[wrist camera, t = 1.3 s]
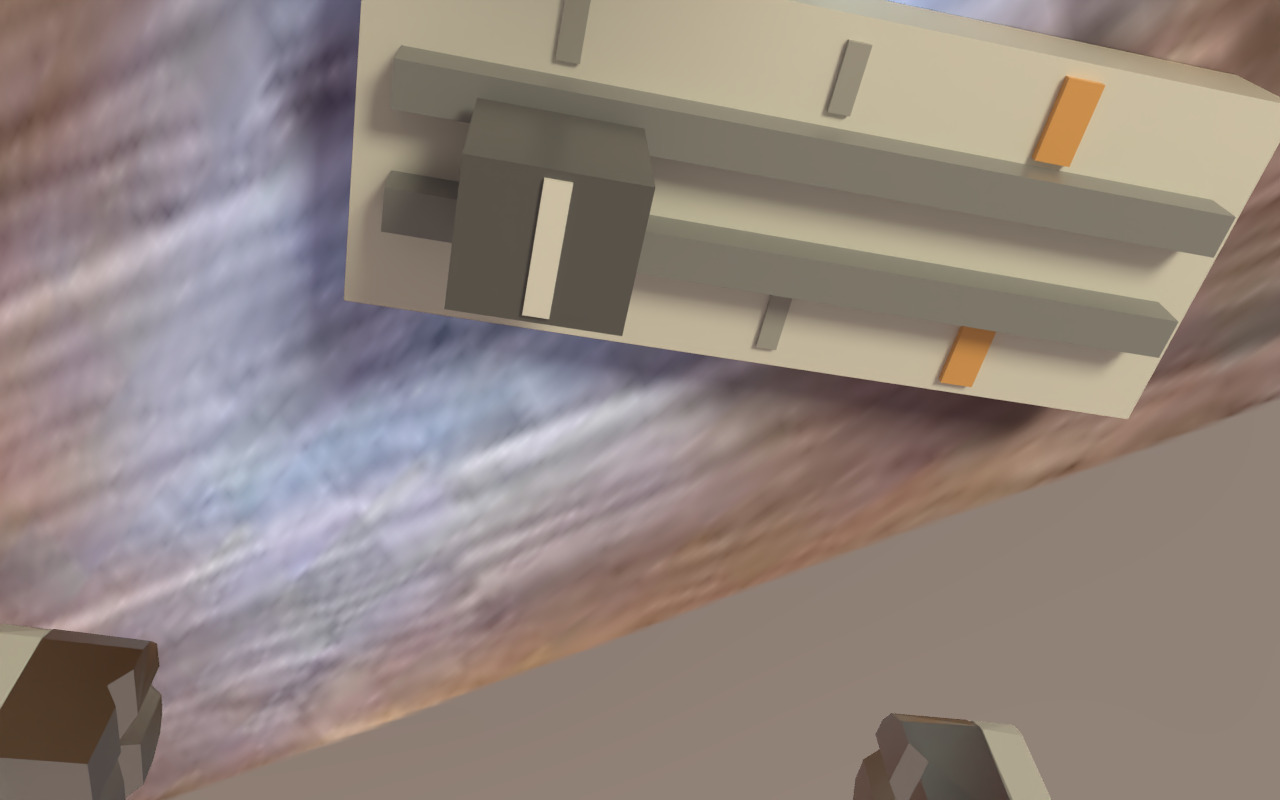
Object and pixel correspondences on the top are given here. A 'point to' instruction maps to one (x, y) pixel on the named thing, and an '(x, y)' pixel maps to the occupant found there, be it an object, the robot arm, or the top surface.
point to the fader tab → (549, 218)
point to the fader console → (836, 181)
